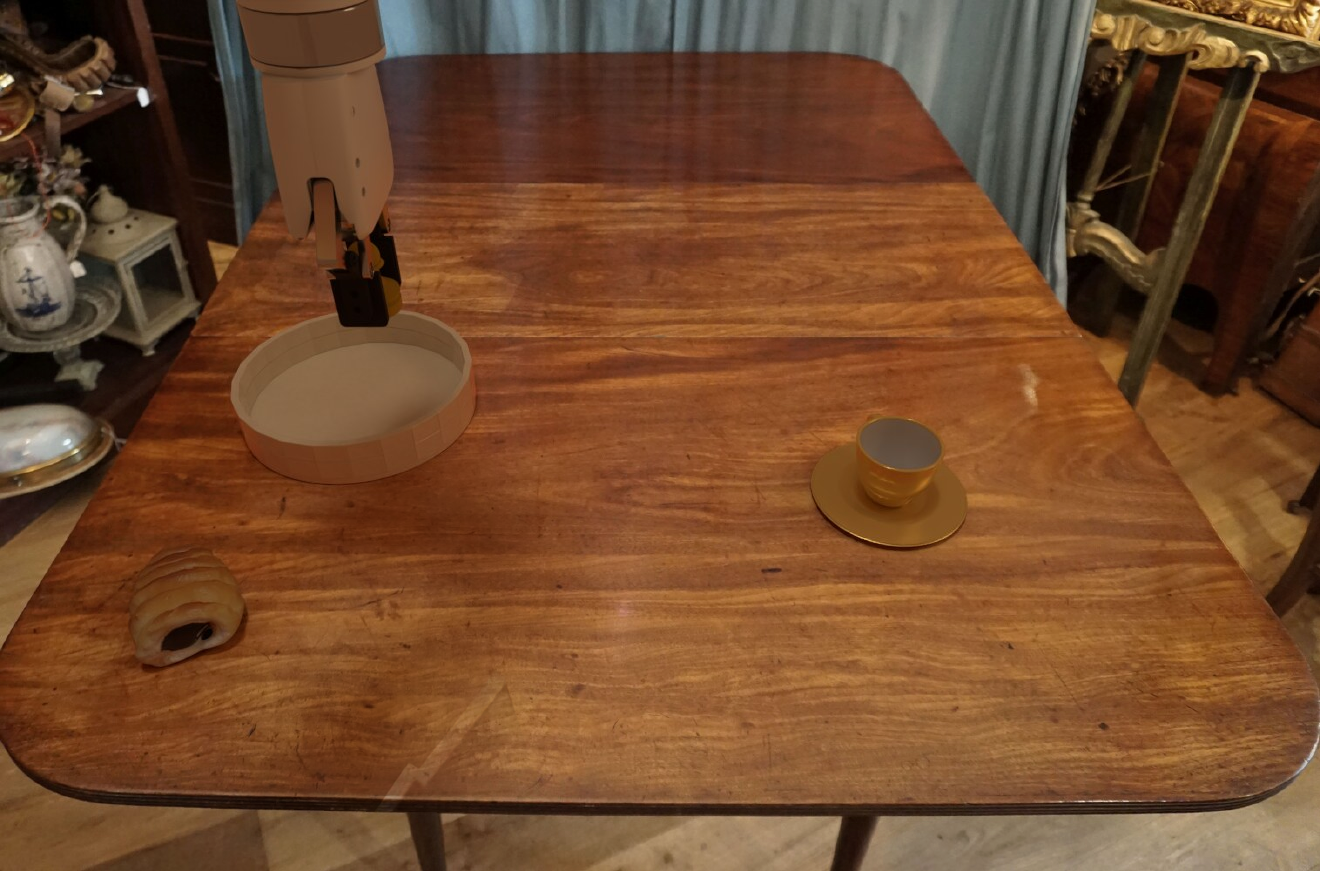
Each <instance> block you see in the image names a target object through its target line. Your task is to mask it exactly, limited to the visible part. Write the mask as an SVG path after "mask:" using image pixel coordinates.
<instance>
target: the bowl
mask: <svg viewBox="0 0 1320 871" xmlns="http://www.w3.org/2000/svg"><path fill="white" fill-rule="evenodd" d="M474 371H475V370H474V365H473V359H472V355H471V352H470V348H469V344H468V343H467V342H466V341H465V339H464V338H463V337H462V336H461V334H460V333H459V332H458V331H457V330H456V329H455V328H453V327H451V326H450V325H448V324H447V323H445V322H443V321H441V320H440V319H438V318H436V317H433V316H429V315H426V314H423V313H420V312H417V311H411V310H403V309H401V310H400V311H399V312H398V313H397V314H396V315H394V316H393V317H391V318H389V322H388V325H387V326H385V327H344V326H342V325H341V324H340V322H339V317H338V313H337V311H336V312H331V313H327V314H324V315H320V316H316V317H314V318H313V317H312V318H310V319H307V320H304V321H301V322H299V323H297V324H294V325H292V326H289V327H288V328H285V329H283V330H281V331H279V332H277V333H275V334H274V335H273V336H271V337H269V338H268V339H266V340H265V341H263V342H262V343H260V344H258V345H257V346H256V347H255V348H254V349H253V350H252V351H251V352H250V353H249V354H248V355H247V356H246V357H245V358H244V359H243V360H242V362H241V363H240V364H239V366H238V368H237V370H236V371H235V374H234V375H233V378H232V380H231V382H230V383H231V384H230V403H231V406H232V409H233V411H234V414H235V417H236V419H237V422H238V426H239V428H240V432H241V433H242V435H243V438H244V440H245V443H246V445H247V447H248V450H250V452H251V454H252V455H253V456H254V457H255V459H257V461H258V462H259V463H260V464H262V465H264V467H266V468H268V469H269V470H271V471H273V472H275V473H277V474H279V475H281V476H284V477H287V478H290V479H293V480H296V481H301V482H306V483H313V484H320V485H348V484H349V485H351V484H359V483H365V482H373V481H377V480H381V479H385V478H389V477H392V476H393V477H394V476H395V475H398V474H402V473H404V472H407V471H409V470H412V469H414V468H417V467H419V466H421V465H423V464H425V463H427V462H428V461H431V460H432V459H434V458H435V457H437V456H438V455H439V454H441V453H443V452H444V451H445V450H447V449H448V448H449V447H451V445H453V444H454V443H455V442H456V441H457V440H458V439H459V438H460V436H462V434H463V433H464V431H465V430H466V429H467V427H468V426H469V424H470V422H471V421H472V419H473V416H474V413H475V410H476V405H477V387H476V378H475V372H474Z"/></svg>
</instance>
